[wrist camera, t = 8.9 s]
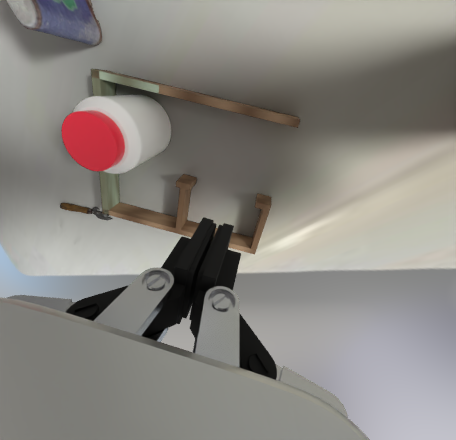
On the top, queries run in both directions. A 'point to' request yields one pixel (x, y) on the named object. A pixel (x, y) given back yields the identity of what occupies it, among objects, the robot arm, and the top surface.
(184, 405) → the robot arm
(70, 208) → the can opener
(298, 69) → the top surface
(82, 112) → the pill bottle
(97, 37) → the flask
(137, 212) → the wooden frame
